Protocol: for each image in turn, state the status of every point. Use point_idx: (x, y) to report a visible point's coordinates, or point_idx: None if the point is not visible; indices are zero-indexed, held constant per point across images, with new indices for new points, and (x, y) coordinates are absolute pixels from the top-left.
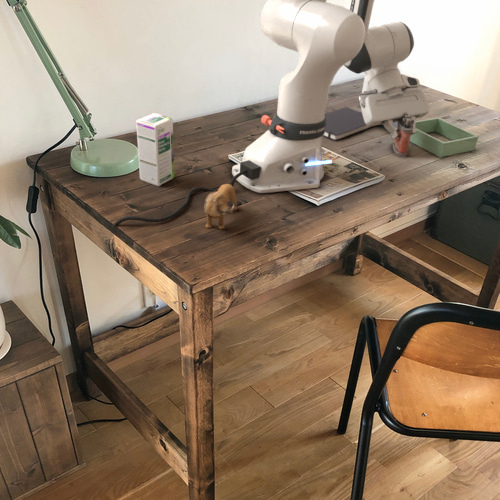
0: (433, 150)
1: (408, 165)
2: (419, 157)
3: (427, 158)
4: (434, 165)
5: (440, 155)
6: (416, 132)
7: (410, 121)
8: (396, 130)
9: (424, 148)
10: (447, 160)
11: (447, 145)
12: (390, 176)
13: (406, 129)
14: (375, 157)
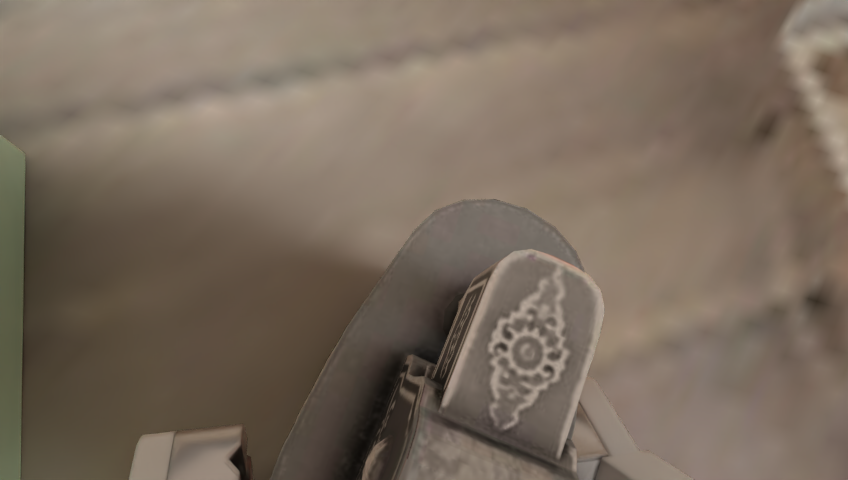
0: (5, 257)
1: (490, 116)
2: (260, 227)
3: (190, 181)
4: (241, 33)
5: (14, 147)
6: (144, 437)
7: (529, 253)
8: (598, 443)
9: (17, 409)
10: (2, 72)
11: None
12: (742, 11)
13: (563, 245)
14: (700, 358)
